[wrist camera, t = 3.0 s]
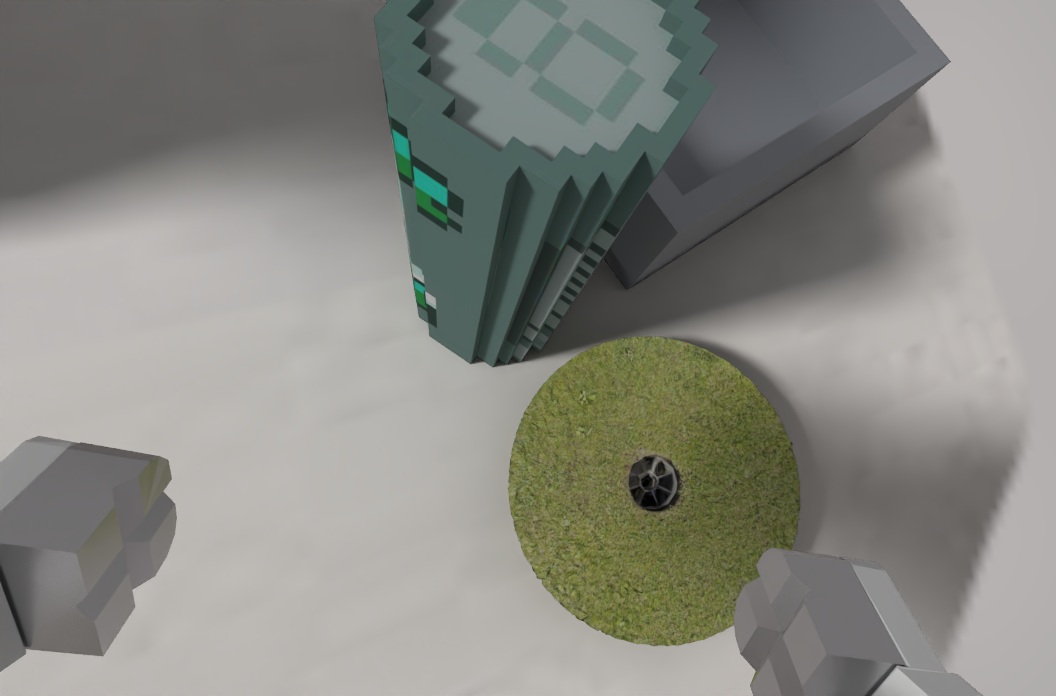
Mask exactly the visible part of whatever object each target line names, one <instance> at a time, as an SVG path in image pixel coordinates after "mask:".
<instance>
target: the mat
mask: <svg viewBox="0 0 1056 696" xmlns="http://www.w3.org/2000/svg"><path fill="white" fill-rule="evenodd" d="M778 418H779V416H778V415H777V414H776V412H775V410H774V408H773V407H772V406H771V405H770V404H769V402H768V401H767V399H766V398H765V397H764V396H763V395H762V394H760V392H759V391H758V390H757V388H756V386H755V385H754V384H753V382H752V381H751V380H750V379H749V378H747V377H745V376H744V375H743V374H742V372H741V371H740V370H738V369H737V368H735V367H734V366H732V365H731V364H730V363H729V362H726V360H725V359H722V358H720V357H718V356H717V355H715V354H713V353H711V352H709V351H707V350H706V349H704V348H699V347H697V346H695V345H693V344H690V343H687V342H682V341H679V340H676V339H674V340H672V339H667V338H664V337H641V336H639V337H631V338H628V337H627V338H624V339H617V340H615V341H609V342H605V343H602V344H601V345H598V346H595V347H592V348H590V349H588V350H587V351H585V352H582V353H580V354H579V355H577V356H576V357H574V358H572V359H571V360H569V361H568V362H567V363H566V364H565V365H563V366H562V367H560V368H559V369H558V370H557V371H556V372H555V373H554V374H553V375H552V376H551V377H550V378H549V379H548V380H547V381H546V382H545V383H544V384H543V386H542V387H541V388H540V390H539V391H538V393H537V394H536V395H535V397H534V398H533V399H532V401H531V403H530V405H529V406H528V408H527V409H526V411H525V412H524V416H523V418H522V419H521V423H520V425H519V428H518V430H517V433H516V438H515V441H514V444H513V448H512V453H511V454H512V456H511V459H510V468H509V473H510V476H509V484H510V486H509V488H508V490H509V503H510V508H511V515H512V517H513V519H514V526H515V531H516V533H517V536H518V540H519V541H520V542H521V548H522V550H523V553H524V555H525V557H526V559H527V560H528V562H529V563H530V564H531V565H532V569H533V571H534V572H535V573H536V575H537V578H538V579H542V584H543V586H544V587H545V588H546V589H547V591H549V592H550V593H551V594H552V595H553V597H554V599H556V600H557V601H559V602H560V604H561V605H562V606H563V607H564V608H566V609H567V610H568V611H569V612H571V614H572V615H575V616H576V617H577V619H579V620H581V621H584V622H585V623H586V624H587V625H589V626H590V627H592V628H594V629H596V630H597V631H598V630H601V631H602V632H603V633H605V634H607V635H611V636H612V637H614V638H617V639H621V640H626V641H629V642H632V643H636V644H648V645H652V646H658V645H666V646H670V645H683V644H685V643H692V642H695V641H699V640H704V639H706V638H708V637H710V636H712V635H715V634H717V633H719V632H723V631H724V630H726V629H727V628H729V627H731V626H733V625H734V615H735V607H736V601H737V599H738V597H739V595H740V593H741V591H742V589H743V587H744V585H746V584H748V583H750V582H752V581H754V580H755V579H757V578H759V577H760V574H759V571H758V569H757V566H756V564H757V563H758V561H759V559H760V558H761V556H762V554H763V553H764V552H766V551H767V550H769V549H770V548H780V549H787V550H792V546H793V543H794V541H795V537H796V535H797V525H798V520H800V518H799V516H798V514H799V510H800V483H799V479H798V470H797V465H796V460H795V457H794V454H793V450H792V443H791V442H789V441H788V436H787V434H786V432H785V430H784V427H783V424H782V422H781V421H780V420H779V419H778Z"/></svg>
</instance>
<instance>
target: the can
mask: <svg viewBox="0 0 1056 696" xmlns="http://www.w3.org/2000/svg"><path fill="white" fill-rule="evenodd" d="M699 2H700V0H386V6H385V7H384V8H383V9H382V10H381V11H380V12H379V13H378V14H377V15H376V16H375V17H374V22H375V29H376V35H377V42H378V49H379V56H380V62H381V69H382V76H383V82H384V89H385V96H386V103H387V109H388V116H389V123H390V130H391V136H392V143H393V150H394V156H395V163H396V170H397V177H398V183H399V190H400V197H401V203H402V210H403V217H404V224H405V230H406V237H407V244H408V251H409V257H410V264H411V271H412V277H413V284H414V291H415V296H416V302H417V307H418V314H419V317H420V318H421V319H423V320H424V321H426V322H427V323H428V326H429V336H430V337H432V338H433V339H435V340H436V341H438V342H439V343H440V344H442V345H443V346H445V347H446V348H448V349H449V350H451V351H452V352H454V353H455V354H457V355H458V356H460V357H461V358H463V359H464V360H465V361H467V362H468V363H470V364H471V363H472V362H473V360H474V359H475V357H476V356H477V357H478V358H480V359H481V360H483V361H484V362H486V363H487V364H489V365H490V366H492V367H493V366H494V365H495V364H496V362H497V361H498V359H499V360H500V361H502V362H503V363H505V364H506V365H507V364H508V362H509V361H510V359H511V358H512V357H513V358H514V359H516V360H517V361H519V362H521V361H522V359H523V358H524V357H525V355H526V354H527V352H528V351H529V349H530V348H531V347H532V348H534V349H535V350H537V351H538V352H540V351H541V349H542V348H543V346H544V345H545V343H546V342H547V340H548V339H549V337H550V336H551V334H552V333H553V331H554V330H555V329H556V327H557V326H558V324H559V323H560V321H561V320H562V318H563V317H564V315H565V314H566V312H567V311H568V309H569V308H570V306H571V305H572V303H573V302H574V300H575V299H576V297H577V296H578V294H579V293H580V291H581V290H582V288H583V287H584V285H585V284H586V282H587V281H588V279H589V278H590V276H591V275H592V273H593V272H594V270H595V269H596V267H597V266H598V264H599V263H600V261H601V260H602V258H603V257H604V255H605V254H606V252H607V251H608V249H609V248H610V246H611V245H612V243H613V242H614V240H615V239H616V237H617V236H618V234H619V233H620V231H621V230H622V228H623V227H624V225H625V224H626V222H627V221H628V219H629V218H630V216H631V215H632V213H633V212H634V210H635V209H636V207H637V205H638V204H639V202H640V201H641V199H642V198H643V196H644V195H645V193H646V192H647V190H648V189H649V187H650V186H651V184H652V183H653V181H654V180H655V178H656V177H657V175H658V174H659V172H660V171H661V169H662V168H663V166H664V165H665V163H666V162H667V160H668V159H669V157H670V156H671V154H672V153H673V151H674V150H675V148H676V147H677V145H678V144H679V142H680V141H681V139H682V138H683V136H684V135H685V133H686V132H687V130H688V129H689V127H690V126H691V124H692V123H693V121H694V120H695V118H696V117H697V115H698V114H699V112H700V111H701V109H702V108H703V106H704V105H705V103H706V102H707V100H708V99H709V97H710V96H711V94H712V93H713V91H714V90H715V88H716V87H717V85H715V84H714V83H712V82H711V81H709V80H708V79H706V78H705V77H703V76H702V75H701V74H702V72H703V71H704V69H705V67H706V66H707V64H708V62H709V61H710V59H711V57H712V56H713V54H714V53H715V51H716V49H717V48H718V46H719V44H717V43H716V42H714V41H712V40H711V39H709V38H708V37H706V36H705V35H703V33H704V32H705V30H706V28H707V26H708V24H709V23H710V21H711V19H710V18H709V17H707V16H706V15H704V14H703V13H701V12H700V11H698V10H697V9H696V8H697V6H698V4H699Z"/></svg>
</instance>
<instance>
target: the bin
mask: <svg viewBox="0 0 1056 696" xmlns="http://www.w3.org/2000/svg"><path fill="white" fill-rule="evenodd" d="M696 9H697V10H698V11H700V12H701V13H703V14H704V15H706V16H707V17H709V18H710V19H711V21H710V23H709V24H708V26H707V28H706V30H705V32H704V33H703V35H705V36H706V37H708V38H709V39H711V40H712V41H714V42H716V43H717V44H719V46H718V48H717V49H716V51H715V53H714V54H713V56H712V57H711V59H710V61H709V62H708V64H707V66H706V67H705V69H704V71H703V72H702V74H701V75H702V76H703V77H705V78H706V79H708V80H709V81H711V82H712V83H714V84H715V85H717V87H716V88H715V90H714V91H713V93H712V94H711V96H710V97H709V99H708V100H707V102H706V103H705V105H704V106H703V108H702V109H701V111H700V112H699V114H698V115H697V117H696V118H695V120H694V121H693V123H692V124H691V126H690V127H689V129H688V130H687V132H686V133H685V135H684V136H683V138H682V139H681V141H680V142H679V144H678V145H677V147H676V148H675V150H674V151H673V153H672V154H671V156H670V157H669V159H668V160H667V162H666V163H665V165H664V166H663V168H662V169H661V171H660V172H659V174H658V175H657V177H656V178H655V180H654V181H653V183H652V184H651V186H650V187H649V189H648V190H647V192H646V193H645V195H644V196H643V198H642V199H641V201H640V202H639V204H638V205H637V207H636V209H635V210H634V212H633V213H632V215H631V216H630V218H629V219H628V221H627V222H626V224H625V225H624V227H623V228H622V230H621V231H620V233H619V234H618V236H617V237H616V239H615V240H614V242H613V243H612V245H611V246H610V248H609V249H608V251H607V252H606V254H605V255H604V258H605V260H606V261H607V263H608V264H609V265H610V267H611V268H612V270H613V271H614V272H615V274H616V275H617V277H618V278H619V279H620V281H621V282H622V284H623V285H624V286H625V288H626V289H627V290H628V289H630V288H631V287H633V286H635V285H636V284H638V283H639V282H641V281H642V280H644V279H645V278H647V277H649V276H650V275H652V274H653V273H655V272H656V271H658V270H659V269H661V268H663V267H664V266H666V265H667V264H669V263H670V262H672V261H674V260H675V259H677V258H678V257H680V256H681V255H683V254H684V253H686V252H688V251H689V250H691V249H692V248H694V247H695V246H697V245H698V244H700V243H702V242H703V241H705V240H706V239H708V238H709V237H711V236H712V235H714V234H716V233H717V232H719V231H720V230H722V229H723V228H725V227H726V226H728V225H730V224H731V223H733V222H734V221H736V220H737V219H739V218H741V217H742V216H744V215H745V214H747V213H748V212H750V211H751V210H753V209H755V208H756V207H758V206H759V205H761V204H762V203H764V202H765V201H767V200H769V199H770V198H772V197H773V196H775V195H776V194H778V193H779V192H781V191H783V190H784V189H786V188H787V187H789V186H790V185H792V184H794V183H795V182H797V181H798V180H800V179H801V178H803V177H804V176H806V175H808V174H809V173H811V172H812V171H814V170H815V169H817V168H818V167H820V166H822V165H823V164H825V163H826V162H828V161H829V160H831V159H832V158H834V157H836V156H837V155H839V154H840V153H842V152H843V151H845V150H846V149H848V148H850V147H851V146H853V145H854V144H855V143H856V142H857V141H859V140H860V139H861V138H862V137H863V136H864V135H866V134H867V133H868V132H869V131H870V130H871V129H873V128H874V127H875V126H876V125H877V124H878V123H880V122H881V121H882V120H883V119H884V118H885V117H887V116H888V115H889V114H890V113H891V112H892V111H894V110H895V109H896V108H897V107H898V106H899V105H901V104H902V103H903V102H904V101H905V100H906V99H908V98H909V97H910V96H911V95H912V94H913V93H915V92H916V91H917V90H918V89H919V88H920V87H921V86H923V85H924V84H925V83H926V82H927V81H928V80H930V79H931V78H932V77H933V76H934V75H936V74H937V73H938V72H939V71H940V70H941V69H943V68H944V67H945V66H946V65H947V64H948V63H950V62H951V61H950V60H949V59H948V58H947V56H946V55H945V54H944V53H943V52H942V51H941V49H940V48H939V47H938V46H937V45H936V43H934V41H933V40H932V39H931V37H930V36H929V35H928V34H927V33H926V32H925V30H924V29H923V28H922V27H921V26H920V24H919V23H918V22H917V21H916V20H915V18H913V16H912V15H911V14H910V13H909V11H908V10H907V9H906V8H905V6H904V5H903V4H902V3H901V2H900V1H899V0H700V2H699V4H698V6H697V8H696Z"/></svg>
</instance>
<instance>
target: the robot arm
mask: <svg viewBox="0 0 1056 696" xmlns="http://www.w3.org/2000/svg"><path fill="white" fill-rule="evenodd" d="M171 479H172V477H171V472H170V467H169V461H168V460H167V459H165V458H163V457H161V456H156V455H150V454H144V453H139V452H133V451H127V450H121V449H116V448H110V447H104V446H99V445H93V444H87V443H77V442H71V441H65V440H60V439H54V438H48V437H43V436H37V437H35V438H32V439H29V440H26V441H24V442H23V443H21V444H20V445H19V446H18V447H17V448H16V449H15V450H14V451H12V452H11V453H10V454H9V455H8V456H7V457H6V458H5V459H3V460H2V461H1V462H0V672H1V671H2V670H4V669H5V668H6V667H8V666H9V665H11V664H12V663H14V662H15V661H16V660H18V659H19V658H21V657H22V656H24V655H25V654H26V650H25V649H30V650H41V651H52V652H62V653H73V654H84V655H95V656H104V655H105V653H106V652H107V650H108V648H109V647H110V645H111V644H112V642H113V641H114V639H115V638H116V636H117V634H118V633H119V631H120V630H121V628H122V627H123V625H124V624H125V622H126V621H127V619H128V617H129V616H130V614H131V613H132V611H133V610H134V608H135V602H134V597H133V591H132V590H133V589H134V588H136V587H138V586H139V585H141V584H143V583H144V582H146V581H148V580H149V579H151V578H153V577H154V576H155V575H156V573H157V572H158V570H159V569H160V567H161V565H162V564H163V562H164V560H165V559H166V557H167V555H168V552H169V549H170V546H171V544H172V541H173V538H174V535H175V529H176V520H177V516H176V507H175V503H174V502H173V501H172V500H171V499H170V498H169V497H168V496H167V495H166V494H165V493H164V492H163V491H164V489H165V488H166V486H167V485H168V484H169V482H170V481H171ZM756 566H757V569H758V571H759V574H760V577H759V578H757V579H755V580H754V581H752V582H750V583H748V584H746V585H744V587H743V589H742V591H741V593H740V595H739V597H738V599H737V601H736V607H735V615H734V627H735V636H736V640H737V643H738V647H739V650H740V654H741V655H742V656H743V657H744V658H745V659H746V661H747V662H748V663H749V664H750V665H751V666H752V667H753V668H754V669H755V670H756V672H755V675H754V677H753V680H752V682H751V685H750V687H751V690H752V693H753V696H983V695H982V694H980V693H979V692H978V691H977V690H976V689H975V688H973V687H972V686H971V685H970V684H969V683H968V682H966V681H965V680H964V679H963V678H962V677H960V676H959V675H958V674H953V673H947V672H946V670H945V669H944V667H943V665H942V664H941V662H940V660H939V659H938V657H937V655H936V654H935V652H934V650H933V649H932V647H931V645H930V644H929V642H928V640H927V639H926V637H925V635H924V634H923V632H922V630H921V629H920V627H919V625H918V624H917V622H916V620H915V619H914V617H913V615H912V614H911V612H910V610H909V609H908V607H907V605H906V604H905V602H904V600H903V599H902V597H901V595H900V594H899V592H898V590H897V589H896V587H895V585H894V584H893V582H892V580H891V579H890V577H889V575H888V574H887V572H886V571H885V570H884V569H883V568H882V567H881V566H880V565H879V564H877V563H876V562H872V561H865V560H858V559H851V558H844V557H839V558H838V557H835V556H830V555H823V554H815V553H808V552H801V551H794V550H787V549H780V548H770V549H769V550H767V551H766V552H764V553H763V554H762V556H761V558H760V559H759V561H758V563H757V564H756Z"/></svg>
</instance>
